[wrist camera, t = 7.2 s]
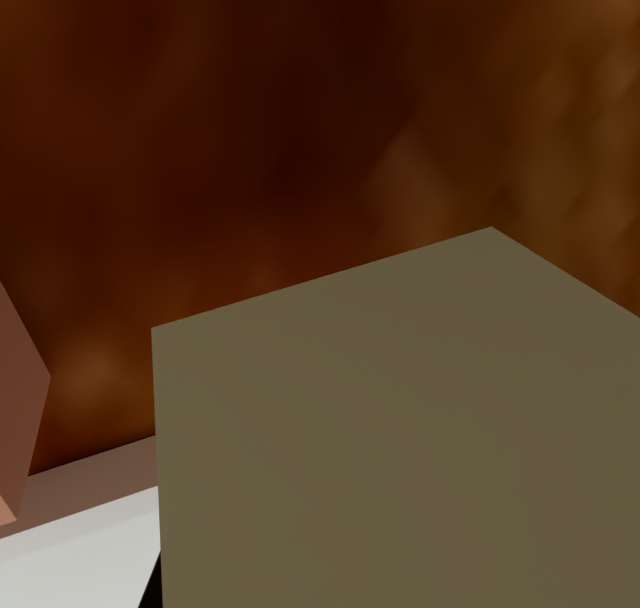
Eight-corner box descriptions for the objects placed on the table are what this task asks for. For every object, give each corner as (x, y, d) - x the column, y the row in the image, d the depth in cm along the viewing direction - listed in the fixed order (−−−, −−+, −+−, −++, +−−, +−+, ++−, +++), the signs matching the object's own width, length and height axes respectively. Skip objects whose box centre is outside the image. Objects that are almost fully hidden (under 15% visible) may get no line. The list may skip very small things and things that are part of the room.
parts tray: (217, 415, 21) (226, 462, 18) (285, 607, 27) (298, 659, 24) (-138, 530, 19) (-173, 598, 17) (22, 709, 25) (11, 775, 23)
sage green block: (491, 226, 8) (1068, 584, 3) (498, 468, 11) (826, 885, 6) (151, 328, 7) (181, 1014, 2) (243, 563, 10) (356, 1143, 5)
